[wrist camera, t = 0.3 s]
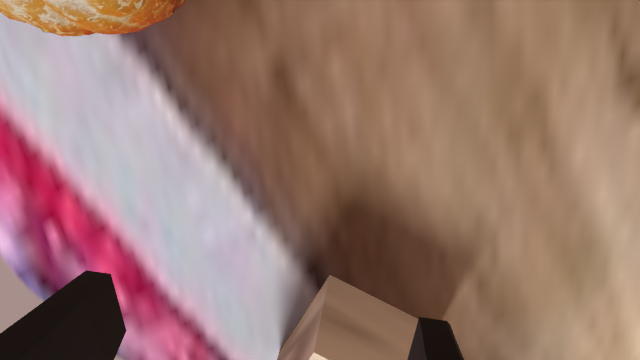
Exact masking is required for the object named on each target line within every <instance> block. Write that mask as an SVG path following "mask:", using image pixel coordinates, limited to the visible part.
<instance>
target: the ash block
mask: <svg viewBox="0 0 640 360" xmlns="http://www.w3.org/2000/svg"><path fill="white" fill-rule="evenodd" d="M417 323H418V319H417V318H415V317H413V316H411V315H409V314H407V313H405V312H403V311H401V310H399V309H397V308H395V307H393V306H391V305H389V304H387V303H385V302H383V301H381V300H379V299H377V298H375V297H373V296H371V295H369V294H367V293H365V292H363V291H361V290H359V289H357V288H355V287H353V286H351V285H349V284H347V283H345V282H343V281H341V280H339V279H337V278H335V277H333V276H331V275H329V277H328V278H327V280H326V281H325V283H324V284H323V286H322V287H321V289H320V290H319V292H318V293H317V295H316V296H315V298H314V299H313V301H312V303H311V304H310V306H309V307H308V309H307V310H306V312H305V313H304V315H303V316H302V318H301V319H300V321H299V322H298V324H297V325H296V327H295V328H294V330H293V331H292V333H291V334H290V336H289V338H288V339H287V341H286V342H285V344H284V345H283V347H282V348H281V350H280V352H279V355H278V359H277V360H407V359H408V355H409V352H410V348H411V345H412V341H413V337H414V334H415V330H416V327H417Z"/></svg>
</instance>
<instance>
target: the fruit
mask: <svg viewBox="0 0 640 360" xmlns="http://www.w3.org/2000/svg"><path fill="white" fill-rule="evenodd" d="M184 1H185V0H0V12H1V13H2V14H4V15H5V16H7V17H8V18H10V19H14V20H18V21H21V22H25V23H29V24H31V25H34V26H36V27H38V28H40V29H41V30H42V31H43V32H51V33H54V34H57V35H60V36H80V35H91V34H94V33H102V34H125V33H130V32H137V31H140V30H144V29H145V28H147V27H148V26H150V25H151V24H154V23H157V22H160V21H163V20H165V19H167V18H168V17H169V16H170V15H172V14H173V13H174V10H175V9H177V8H178V7H180V6H182V5H183V4H184Z"/></svg>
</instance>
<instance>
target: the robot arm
mask: <svg viewBox="0 0 640 360" xmlns="http://www.w3.org/2000/svg"><path fill="white" fill-rule="evenodd" d="M125 332H126V328H125V325H124V321H123V317H122V314H121V310H120V306H119V303H118V299H117V295H116V292H115V288H114V284H113V281H112V277H111V274H107V273H100V272H92V271H85V272H83V273H82V274H81V275H79V276H78V277H76V278H75V279H74V280H72V281H71V282H70V283H68V284H67V285H66V286H64V287H63V288H62V289H60V290H59V291H57V292H56V293H55V294H53V295H52V296H51V297H49V298H48V299H47V300H45V301H44V302H43V303H41V304H40V305H39V306H38V307H36V308H35V309H34V310H32V311H31V312H29V313H28V314H27V315H25V316H24V317H22V318H21V319H20V320H18V321H17V322H16V323H14V324H13V325H12V326H10V327H9V328H7V329H6V330H5V331H3V332H2V333H0V360H114V358H115V356H116V354H117V351H118V349H119V346H120V344H121V342H122V339H123V337H124V335H125ZM407 360H464V358H463V356H462V354H461V351H460V349H459V346H458V344H457V341H456V339H455V336H454V334H453V331H452V328H451V326H450V324H449V323H448V322H447V321H443V320H435V319H428V318H421V317H419V319H418V323H417V327H416V330H415V334H414V337H413V341H412V345H411V348H410V352H409V355H408V359H407Z"/></svg>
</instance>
